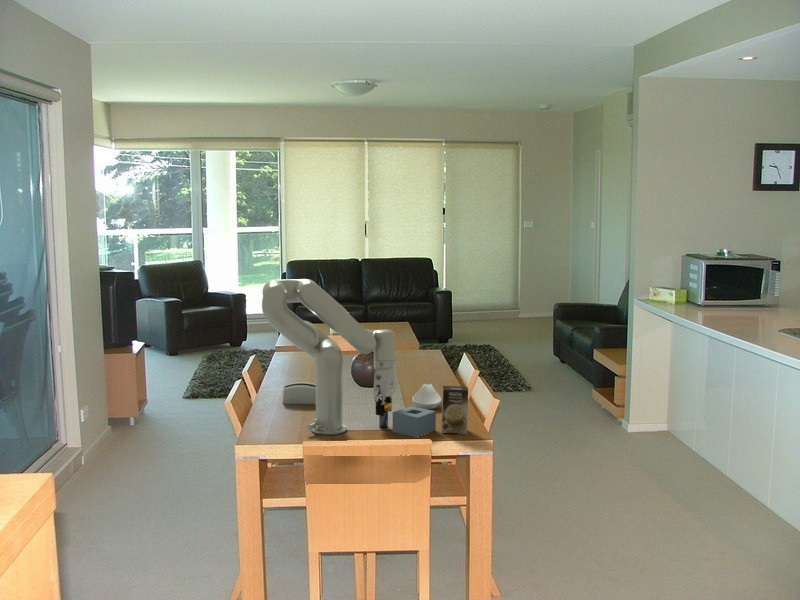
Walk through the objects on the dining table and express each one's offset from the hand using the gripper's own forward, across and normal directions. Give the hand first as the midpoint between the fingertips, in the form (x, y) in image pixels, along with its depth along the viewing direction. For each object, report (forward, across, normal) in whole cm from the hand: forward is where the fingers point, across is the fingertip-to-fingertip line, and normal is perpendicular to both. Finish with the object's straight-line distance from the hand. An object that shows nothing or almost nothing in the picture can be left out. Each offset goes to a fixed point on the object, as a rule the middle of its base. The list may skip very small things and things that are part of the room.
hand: (383, 412), depth 280 cm
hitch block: (+6, 0, -12) cm, 13 cm away
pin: (+6, 0, 0) cm, 6 cm away
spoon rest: (+6, +38, -3) cm, 39 cm away
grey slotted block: (+6, +18, +44) cm, 47 cm away
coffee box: (+6, +6, -25) cm, 26 cm away
